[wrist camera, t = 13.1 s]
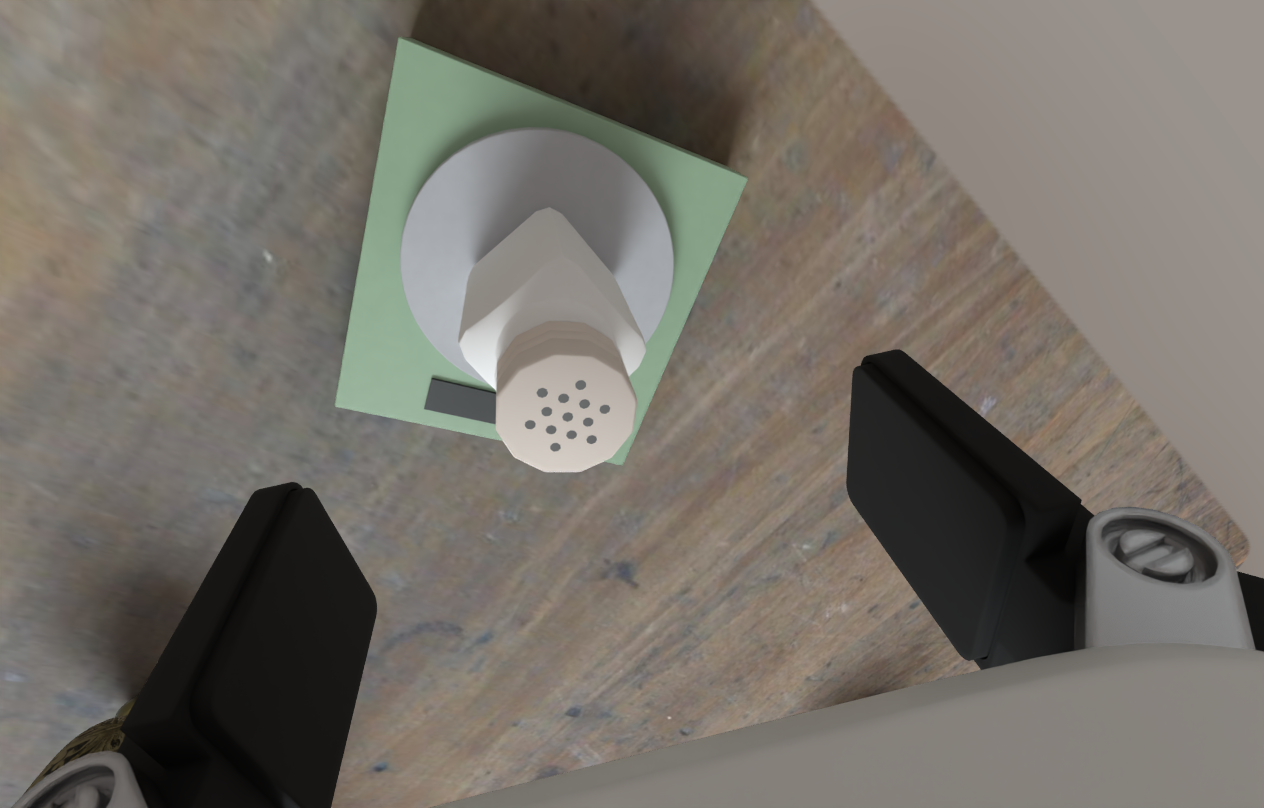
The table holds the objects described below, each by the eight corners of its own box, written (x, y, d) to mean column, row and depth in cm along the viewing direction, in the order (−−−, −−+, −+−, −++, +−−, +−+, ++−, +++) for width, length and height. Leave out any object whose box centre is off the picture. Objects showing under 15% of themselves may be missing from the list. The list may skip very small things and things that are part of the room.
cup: (251, 669, 32) (184, 834, 26) (233, 750, 35) (169, 917, 29) (82, 653, 30) (-41, 831, 23) (78, 742, 33) (-32, 922, 26)
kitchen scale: (409, 37, 20) (394, 35, 17) (728, 166, 24) (755, 180, 21) (347, 377, 25) (330, 414, 23) (614, 436, 29) (625, 473, 26)
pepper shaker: (460, 272, 21) (433, 414, 13) (548, 195, 20) (578, 295, 12) (539, 349, 23) (558, 515, 15) (621, 283, 22) (689, 419, 14)
